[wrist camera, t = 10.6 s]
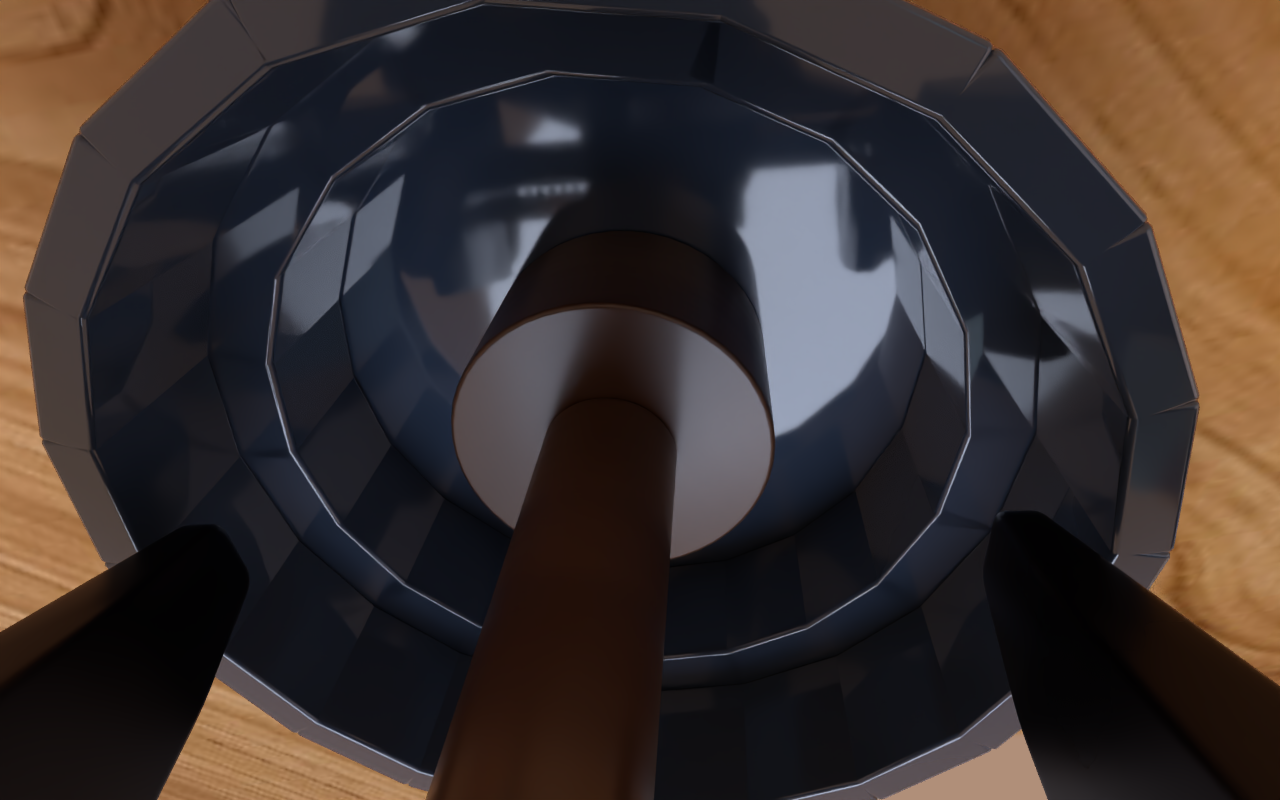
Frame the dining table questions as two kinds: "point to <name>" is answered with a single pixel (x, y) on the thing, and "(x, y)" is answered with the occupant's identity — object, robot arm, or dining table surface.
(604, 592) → the peg on round base
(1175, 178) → the dining table surface
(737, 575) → the bowl
